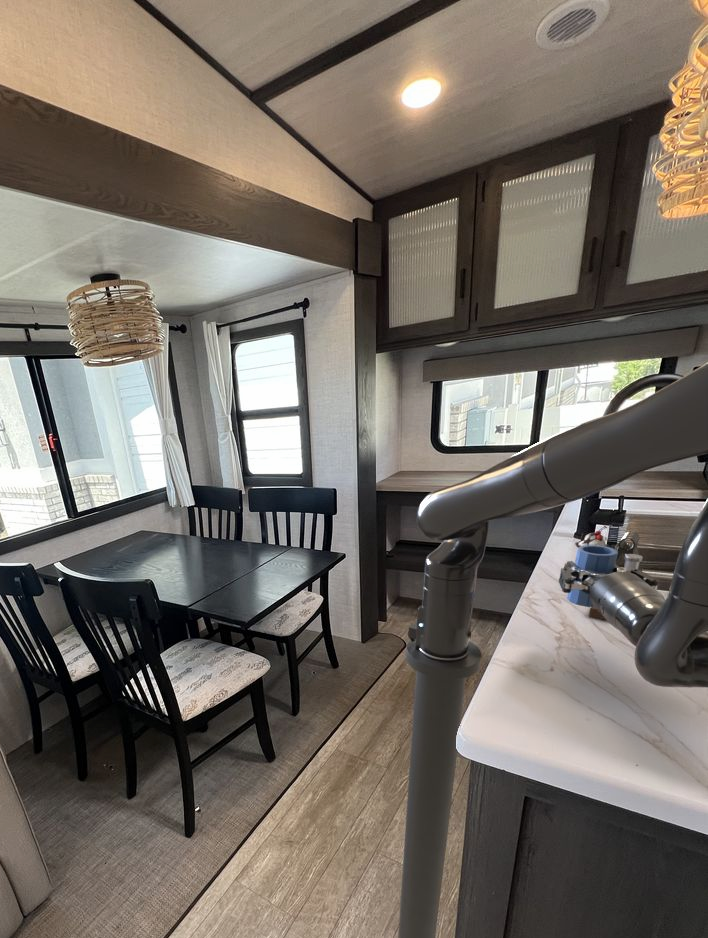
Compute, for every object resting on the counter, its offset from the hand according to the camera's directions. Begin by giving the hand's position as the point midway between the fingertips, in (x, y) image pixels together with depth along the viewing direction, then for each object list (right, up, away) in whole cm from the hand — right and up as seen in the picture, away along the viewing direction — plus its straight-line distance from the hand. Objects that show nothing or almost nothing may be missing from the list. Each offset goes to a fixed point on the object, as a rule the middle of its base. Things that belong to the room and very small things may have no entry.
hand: (587, 566), depth 87 cm
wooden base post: (+14, -9, +10) cm, 19 cm away
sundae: (+16, -3, +24) cm, 30 cm away
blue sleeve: (0, -7, 0) cm, 6 cm away
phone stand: (+24, -3, +24) cm, 34 cm away
